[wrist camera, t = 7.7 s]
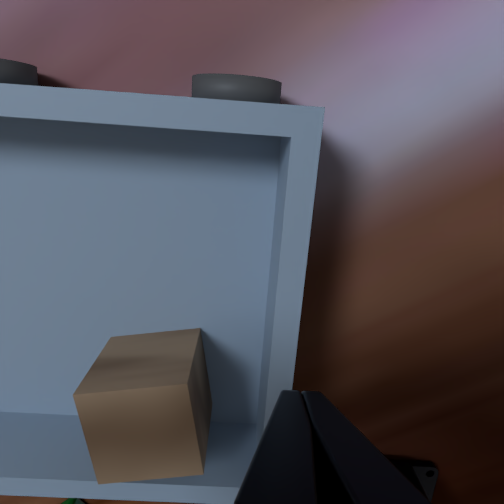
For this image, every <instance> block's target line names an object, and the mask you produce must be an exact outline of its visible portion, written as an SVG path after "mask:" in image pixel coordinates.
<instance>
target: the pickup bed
mask: <svg viewBox="0 0 504 504" xmlns="http://www.w3.org/2000/svg"><path fill="white" fill-rule="evenodd" d="M281 84H282V83H281V82H279V81H276V80H272V79H267V78H261V77H254V76H245V75H234V74H197V75H193V76H192V97H180V96H166V95H153V94H140V93H126V92H113V91H100V90H86V89H73V88H59V87H46V86H38V77H37V67H36V66H33V65H30V64H26V63H22V62H17V61H12V60H6V59H0V495H15V496H39V497H63V498H86V499H110V500H134V501H158V502H181V503H205V504H234V501H235V498H236V496H237V494H238V491H239V489H240V487H241V484H242V482H243V480H244V477H245V475H246V472H247V470H248V468H249V465H250V463H251V461H252V458H253V456H254V454H255V451H256V449H257V446H258V444H259V442H260V439H261V437H262V435H263V432H264V430H265V428H266V425H267V423H268V420H269V418H270V416H271V413H272V411H273V409H274V406H275V404H276V402H277V399H278V397H279V394H280V392H281V391H282V390H292V386H293V377H294V369H295V360H296V351H297V343H298V334H299V326H300V317H301V308H302V300H303V291H304V283H305V274H306V266H307V257H308V248H309V240H310V231H311V223H312V214H313V205H314V197H315V188H316V180H317V171H318V163H319V154H320V145H321V137H322V128H323V120H324V111H325V107H314V106H300V105H287V104H280V96H281ZM194 328H200V329H201V335H202V341H203V347H204V353H205V360H206V366H207V372H208V378H209V384H210V391H211V397H212V403H213V404H212V412H211V420H210V428H209V436H208V444H207V452H206V460H205V468H204V475H195V476H184V477H173V478H163V479H152V480H141V481H130V482H120V483H109V484H98V482H97V479H96V475H95V472H94V468H93V465H92V461H91V458H90V454H89V451H88V447H87V444H86V440H85V437H84V433H83V430H82V426H81V423H80V419H79V416H78V412H77V409H76V405H75V402H74V398H73V394H74V392H75V391H76V389H77V388H78V386H79V384H80V383H81V381H82V380H83V378H84V377H85V375H86V374H87V372H88V371H89V369H90V368H91V366H92V365H93V363H94V362H95V360H96V359H97V357H98V356H99V354H100V353H101V351H102V350H103V348H104V347H105V345H106V343H107V342H108V340H109V339H110V337H115V336H125V335H135V334H145V333H154V332H164V331H174V330H184V329H194Z"/></svg>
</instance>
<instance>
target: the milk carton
mask: <svg viewBox="0 0 504 504" xmlns="http://www.w3.org/2000/svg"><path fill="white" fill-rule="evenodd" d="M61 504H85V503H84V502H82V501H81V500H80V499H79V498H69V499H67V500H66V501H64V502H63V503H61Z"/></svg>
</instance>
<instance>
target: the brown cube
mask: <svg viewBox="0 0 504 504" xmlns="http://www.w3.org/2000/svg"><path fill="white" fill-rule="evenodd" d="M73 398H74V402H75V405H76V409H77V412H78V416H79V419H80V423H81V426H82V430H83V433H84V437H85V440H86V444H87V447H88V451H89V454H90V458H91V461H92V465H93V468H94V472H95V475H96V479H97V482H98V484H109V483H120V482H130V481H141V480H152V479H163V478H173V477H184V476H195V475H204V468H205V460H206V452H207V444H208V436H209V428H210V420H211V412H212V404H213V403H212V397H211V391H210V384H209V378H208V372H207V366H206V360H205V353H204V347H203V341H202V335H201V329H200V328H194V329H184V330H174V331H164V332H154V333H145V334H135V335H125V336H115V337H110V339H109V340H108V342H107V343H106V345H105V347H104V348H103V350H102V351H101V353H100V354H99V356H98V357H97V359H96V360H95V362H94V363H93V365H92V366H91V368H90V369H89V371H88V372H87V374H86V375H85V377H84V378H83V380H82V381H81V383H80V384H79V386H78V388H77V389H76V391H75V392H74V394H73Z"/></svg>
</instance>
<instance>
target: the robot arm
mask: <svg viewBox="0 0 504 504" xmlns="http://www.w3.org/2000/svg"><path fill="white" fill-rule="evenodd" d="M437 477H438V470H437V468H436V466H435V465H434V463H432V462H425V461H404V460H388V459H387V458H386V457H385V456H384V455H383V454H382V453H381V452H380V451H379V450H378V449H377V448H376V447H375V446H374V445H373V444H372V443H371V442H370V441H369V440H368V439H367V438H366V437H365V436H364V435H363V434H362V433H361V432H360V431H359V430H358V429H357V428H356V427H355V426H354V425H353V424H352V423H351V422H350V421H349V420H348V419H347V418H346V417H345V416H344V415H343V414H342V413H341V412H340V411H339V410H338V409H337V408H336V407H335V406H334V405H333V404H332V403H331V402H330V401H329V400H328V399H327V398H326V397H325V396H324V395H323V394H322V393H321V392H318V391H302V392H300V391H298V390H282V391H281V392H280V394H279V397H278V399H277V402H276V404H275V406H274V409H273V411H272V413H271V416H270V418H269V420H268V423H267V425H266V428H265V430H264V432H263V435H262V437H261V439H260V442H259V444H258V446H257V449H256V451H255V454H254V456H253V458H252V461H251V463H250V465H249V468H248V470H247V472H246V475H245V477H244V480H243V482H242V484H241V487H240V489H239V491H238V494H237V496H236V498H235V501H234V504H432V503H431V500H432V496H433V492H434V488H435V485H436V481H437Z"/></svg>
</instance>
